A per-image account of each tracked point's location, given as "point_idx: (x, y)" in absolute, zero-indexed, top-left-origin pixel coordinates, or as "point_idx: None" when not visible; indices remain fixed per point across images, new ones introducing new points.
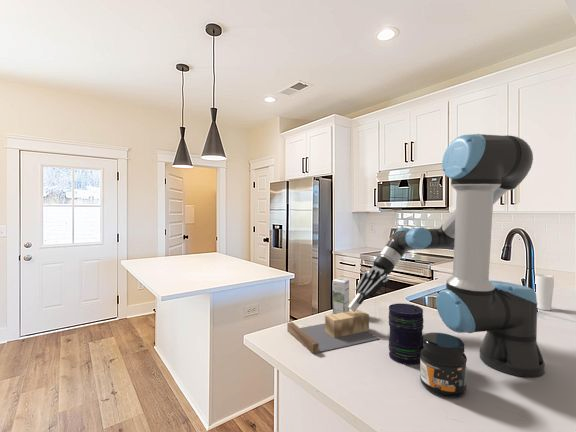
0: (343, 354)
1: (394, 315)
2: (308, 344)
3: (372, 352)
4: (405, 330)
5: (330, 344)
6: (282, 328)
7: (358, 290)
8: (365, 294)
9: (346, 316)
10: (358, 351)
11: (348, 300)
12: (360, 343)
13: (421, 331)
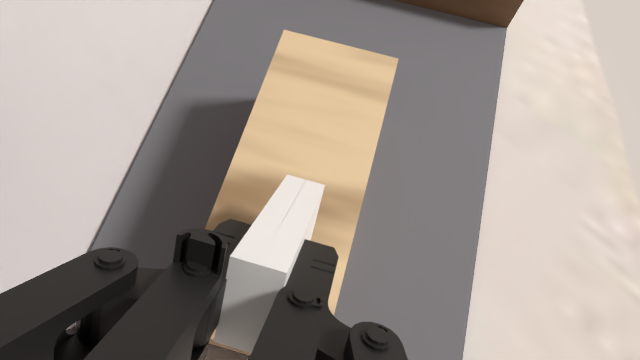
0: (145, 16)
1: None
2: None
3: (41, 115)
4: None
5: (245, 33)
6: (550, 13)
7: (310, 310)
8: (147, 273)
9: (279, 143)
10: (105, 78)
11: None
12: (143, 151)
13: None
